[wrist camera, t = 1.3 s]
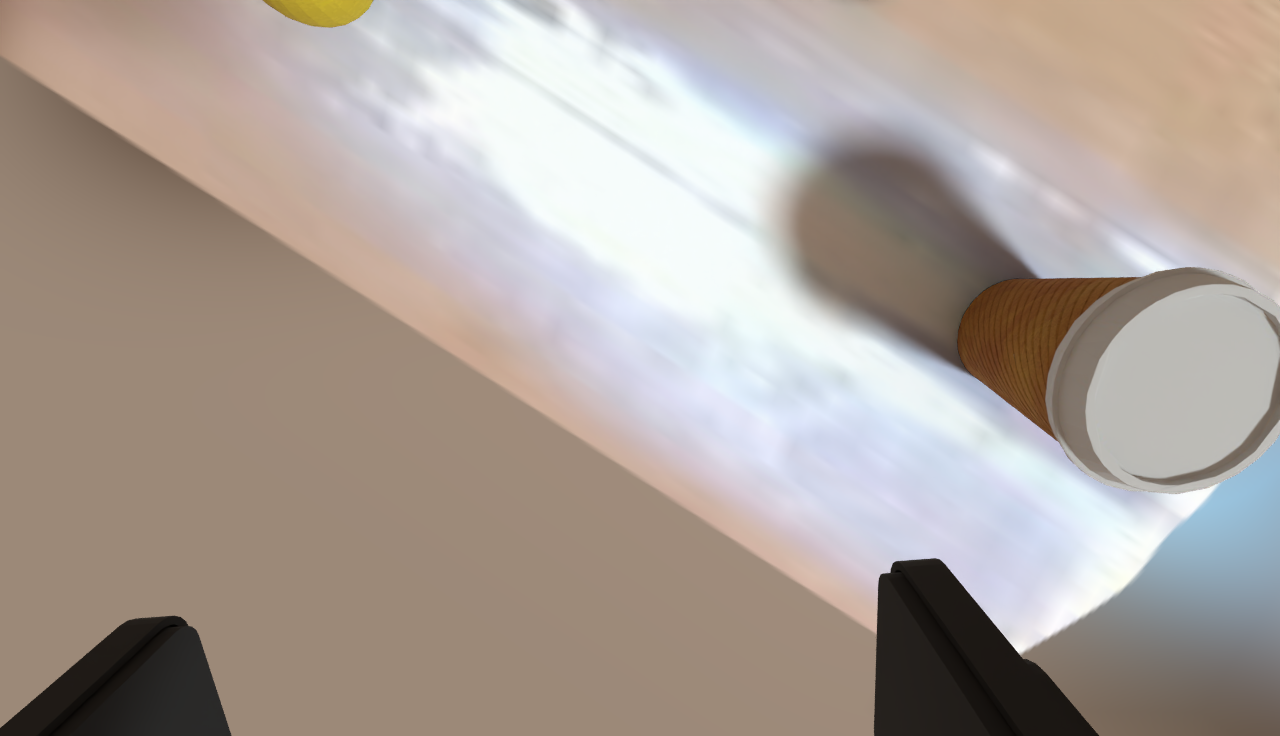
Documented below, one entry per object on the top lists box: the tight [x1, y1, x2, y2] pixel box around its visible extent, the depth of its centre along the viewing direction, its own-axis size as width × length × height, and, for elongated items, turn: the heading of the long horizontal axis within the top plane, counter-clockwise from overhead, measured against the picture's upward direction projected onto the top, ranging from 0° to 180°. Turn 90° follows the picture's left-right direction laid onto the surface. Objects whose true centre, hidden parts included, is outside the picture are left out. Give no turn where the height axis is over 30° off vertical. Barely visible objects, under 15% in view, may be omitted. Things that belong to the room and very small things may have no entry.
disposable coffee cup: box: [957, 267, 1280, 494], centre depth 30 cm, size 10×10×12 cm
